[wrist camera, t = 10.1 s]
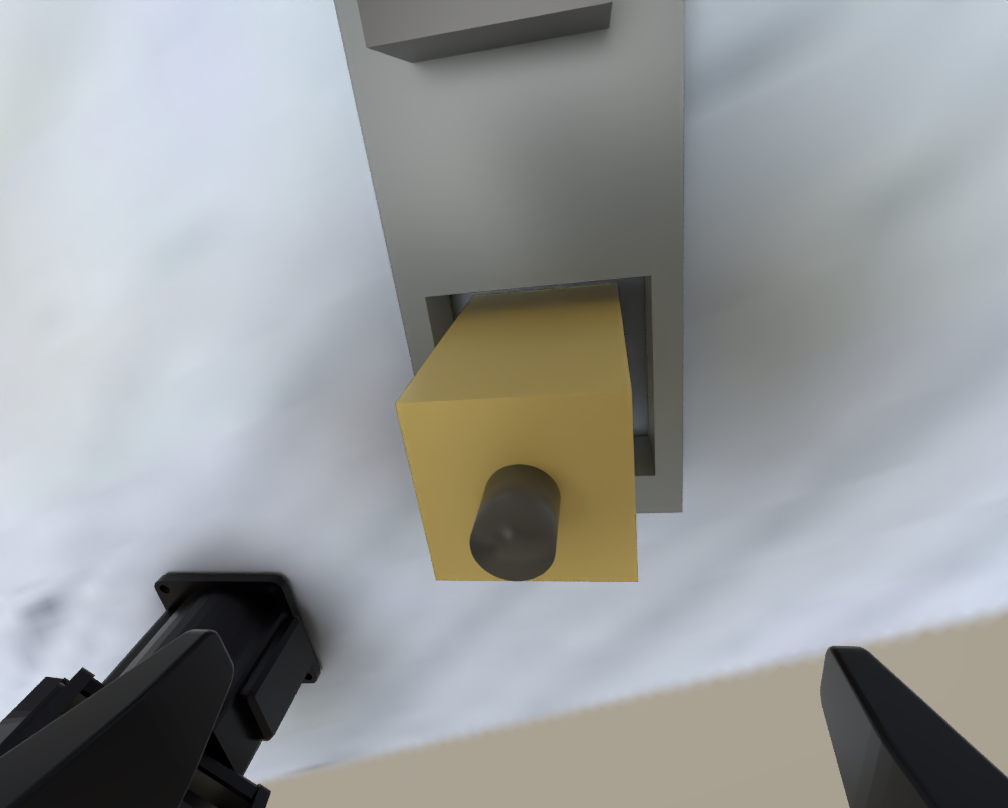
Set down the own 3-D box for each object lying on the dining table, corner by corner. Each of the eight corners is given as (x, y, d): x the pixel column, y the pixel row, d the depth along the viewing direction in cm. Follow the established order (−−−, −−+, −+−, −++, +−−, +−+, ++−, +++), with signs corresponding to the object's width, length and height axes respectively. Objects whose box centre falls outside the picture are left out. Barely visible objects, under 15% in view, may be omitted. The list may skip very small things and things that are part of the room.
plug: (491, 420, 20) (416, 635, 12) (472, 295, 18) (365, 443, 10) (622, 414, 19) (643, 641, 11) (616, 282, 17) (637, 433, 9)
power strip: (460, 476, 21) (420, 579, 17) (319, -255, 13) (152, -482, 8) (672, 469, 20) (697, 580, 15) (669, -359, 12) (722, -715, 7)
